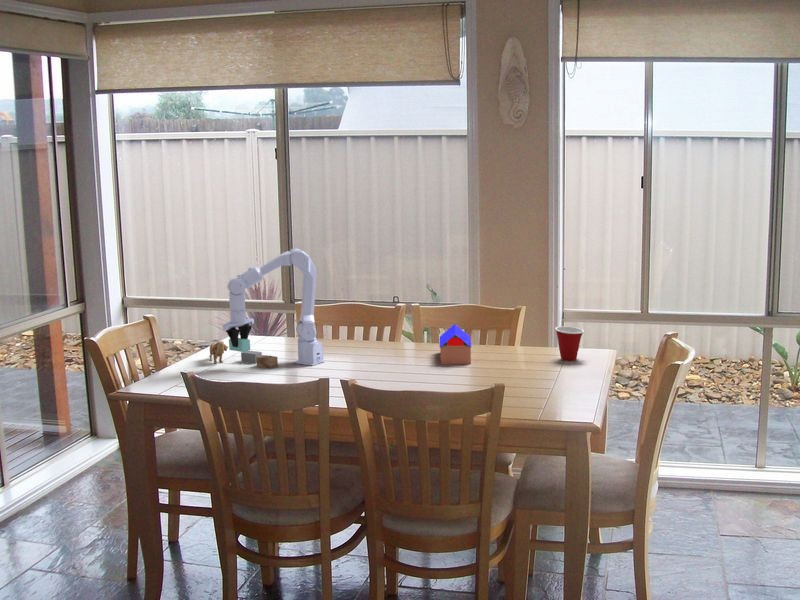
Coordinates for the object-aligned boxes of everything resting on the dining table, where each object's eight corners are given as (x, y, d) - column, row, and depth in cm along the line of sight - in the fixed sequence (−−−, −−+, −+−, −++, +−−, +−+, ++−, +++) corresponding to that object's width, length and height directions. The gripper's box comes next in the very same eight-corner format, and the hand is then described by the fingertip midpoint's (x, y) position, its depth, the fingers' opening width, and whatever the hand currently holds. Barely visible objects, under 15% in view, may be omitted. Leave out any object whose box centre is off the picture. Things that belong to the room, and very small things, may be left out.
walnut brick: (277, 367, 340) (277, 356, 339) (271, 369, 336) (270, 358, 336) (263, 365, 343) (262, 355, 343) (256, 367, 340) (256, 357, 339)
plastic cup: (581, 363, 333) (582, 331, 331) (552, 361, 336) (552, 330, 334) (585, 356, 343) (585, 326, 341) (557, 355, 346) (557, 325, 344)
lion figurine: (230, 363, 346) (229, 341, 344) (217, 366, 343) (216, 343, 341) (215, 357, 358) (214, 335, 356) (202, 359, 355) (201, 337, 353)
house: (439, 364, 337) (439, 334, 335) (439, 353, 357) (439, 324, 355) (471, 364, 336) (471, 334, 334) (470, 352, 356) (469, 323, 354)
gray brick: (262, 362, 348) (261, 352, 348) (255, 364, 345) (255, 354, 344) (248, 360, 352) (247, 350, 351) (241, 362, 348) (240, 352, 348)
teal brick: (250, 349, 336) (249, 339, 336) (242, 351, 333) (242, 341, 333) (237, 347, 340) (236, 337, 340) (229, 349, 337) (228, 339, 337)
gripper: (243, 306, 342) (245, 340, 345) (215, 312, 331) (218, 348, 333) (257, 307, 338) (259, 342, 341) (229, 313, 327) (231, 350, 329)
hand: (239, 345), depth 337 cm, fingers closed on teal brick, 4 cm apart
